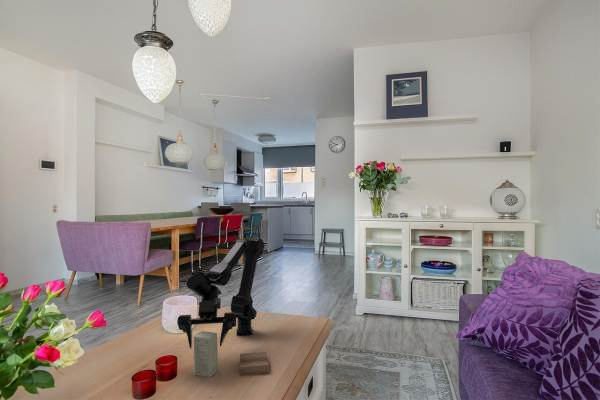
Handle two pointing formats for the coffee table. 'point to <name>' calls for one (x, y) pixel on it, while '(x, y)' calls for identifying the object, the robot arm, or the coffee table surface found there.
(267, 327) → the coffee table surface
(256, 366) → the walnut plinth
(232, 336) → the coffee table surface
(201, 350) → the skincare box
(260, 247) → the robot arm
